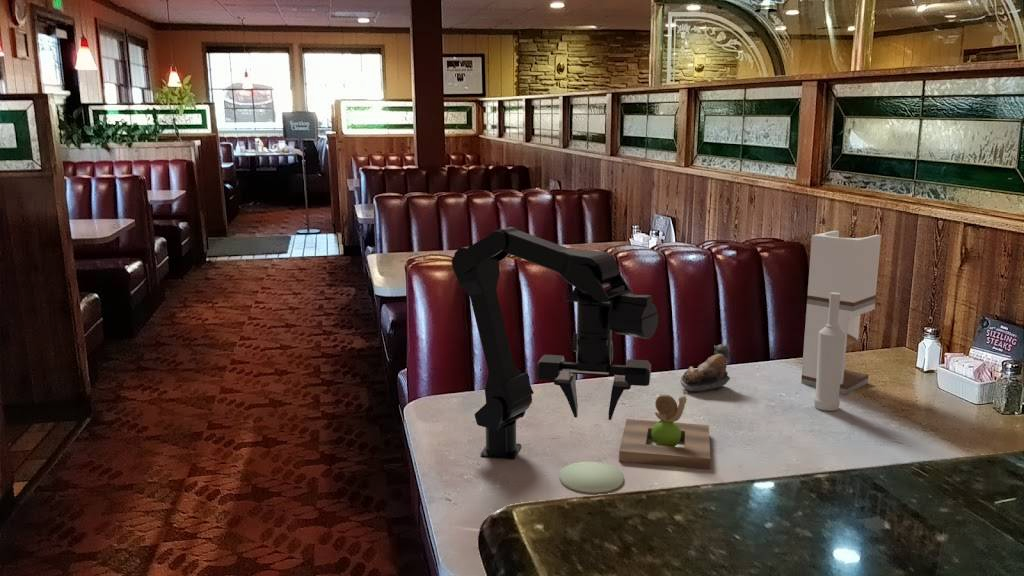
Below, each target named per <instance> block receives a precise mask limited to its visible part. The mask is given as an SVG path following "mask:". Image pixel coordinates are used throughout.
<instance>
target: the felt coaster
mask: <svg viewBox="0 0 1024 576" xmlns="http://www.w3.org/2000/svg"><path fill="white" fill-rule="evenodd" d="M624 480H625V479H624V474H623V472H622V471H621V469H619V468H618V467H616V466H613V465H611V464H608V463H604V462H599V461H580V462H579V461H578V462H575V463H571V464H568V465H566V466H564V467H562V469H561V470H560V471H559V481H560V483H561V484H562V485H563V486H564V487H566V488H568V489H570V490H573V491H576V492H580V493H586V494H587V493H588V494H601V493H602V494H604V493H607V492H612V491H614V490H617V489H618V488H621V486H622V485H623V484H624Z"/></svg>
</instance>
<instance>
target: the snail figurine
mask: <svg viewBox="0 0 1024 576" xmlns="http://www.w3.org/2000/svg"><path fill="white" fill-rule="evenodd" d="M682 394H683V395H684V396H683V395H682V396H680V397H679V398H678V403H677V402H676V400H675V398H674V397H673V396H672V395H669V394H665V393H664V394H661V395H659V396H658V397H656V400H655V409H656V410H657V411H655V412H654V414H655V416H656V417H657V418H658V422H657V423H656V424H655V425H654V426H653V429H652V438H651V439H652V441H653V442H654V445H655V444H656V445H660V446H672V447H677V446H678V444H679V443H680V441H681V440H680V438H681V431H680V428H679V426H678V425H677V424H676V423H677V421H678V420H680V419H681V417H682V415H683V413H684V409H685V406H686V403H687V396H686V395H687V394H688V390H684V391H683V392H682Z"/></svg>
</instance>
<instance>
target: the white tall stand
mask: <svg viewBox="0 0 1024 576" xmlns="http://www.w3.org/2000/svg"><path fill="white" fill-rule="evenodd" d="M839 236H840V230H831V231H827V232H822V233H817V234H812V235H811V242H810V253H809V256H810V258H809V270H808V271H809V272H808V283H807V284H808V285H807V297H806V298H807V299H806V310H805V311H806V312H805V327H804V339H803V350H802V351H803V353H802V354H803V355H802V365H801V366H802V367H801V378H800V381H801V382H800V383H801V384H802V385H803V384H804V385H807V386H810V385H812V386H811V387H814V386H815V387H814V388H816V379H817V360H818V341H819V331H820V330H822V329H823V328H824V327H826V324H827V323H828V315H829V299H830V293H831V292H836V293H840V303H839V315H838V325H839V328H840V329H841V330H842V331H843V332H844V333H845V342H844V352H843V361H842V371H841V381H840V390H839V394H843V395H847V394H849V393H851V392H854V391H855V390H858V388H861V387H863V386H865V385H867V384H868V383H869V374H866V373H863V372H858V371H854V370H849V369H846V368H845V365H846V355H847V354H846V353H847V346H851V345H854V344H856V343H858V342H859V338H860V337H859V336H860V324H861V315H863V314H865V313H869V312H871V311H875V309H876V306H875V305H876V297H877V287H878V286H877V285H878V274H879V263H880V254H881V251H880V250H881V241H882V234H874V235H870V236H866V237H839Z"/></svg>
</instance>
